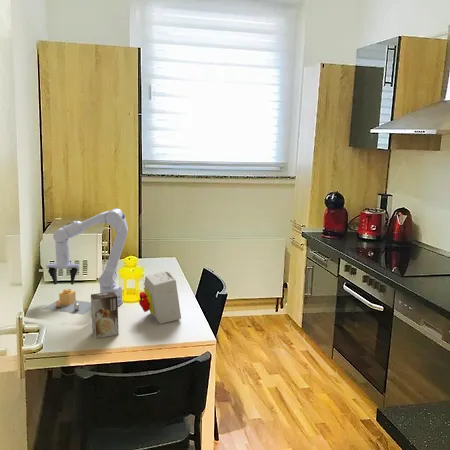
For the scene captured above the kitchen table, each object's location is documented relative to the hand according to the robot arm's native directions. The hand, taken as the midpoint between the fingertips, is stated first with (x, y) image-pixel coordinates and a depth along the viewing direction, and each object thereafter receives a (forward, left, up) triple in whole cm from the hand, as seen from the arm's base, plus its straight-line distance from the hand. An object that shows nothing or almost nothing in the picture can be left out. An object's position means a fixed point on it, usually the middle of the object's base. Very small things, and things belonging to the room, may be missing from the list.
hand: (64, 283), depth 224 cm
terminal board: (-7, +5, -9) cm, 13 cm away
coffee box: (-34, +24, -10) cm, 43 cm away
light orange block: (-3, +2, -8) cm, 9 cm away
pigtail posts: (-7, +9, -8) cm, 14 cm away
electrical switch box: (-47, +2, -10) cm, 48 cm away
